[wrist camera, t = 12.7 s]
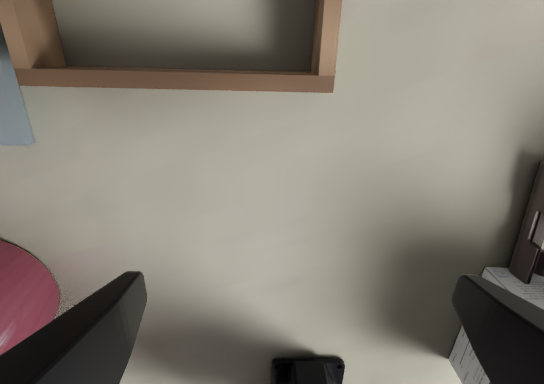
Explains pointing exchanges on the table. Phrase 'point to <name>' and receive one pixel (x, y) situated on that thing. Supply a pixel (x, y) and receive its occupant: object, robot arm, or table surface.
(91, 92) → the table surface
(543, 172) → the portable electronic device stand
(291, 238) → the table surface
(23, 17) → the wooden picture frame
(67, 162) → the table surface
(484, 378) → the light bulb box
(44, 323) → the plant pot
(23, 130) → the slate pad
